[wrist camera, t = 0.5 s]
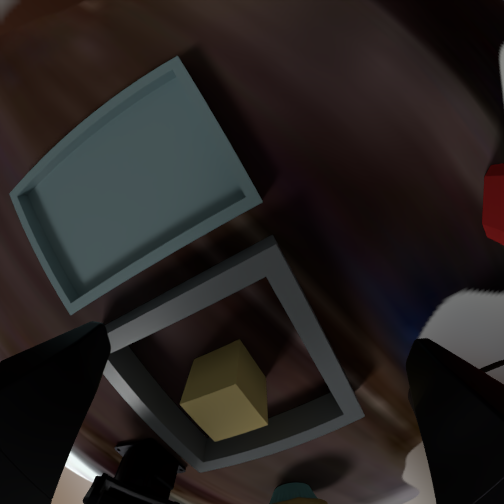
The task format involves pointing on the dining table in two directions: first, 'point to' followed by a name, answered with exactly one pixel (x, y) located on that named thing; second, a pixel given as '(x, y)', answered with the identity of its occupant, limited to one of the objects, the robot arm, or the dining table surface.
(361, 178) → the dining table surface
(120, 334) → the bin
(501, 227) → the french fries
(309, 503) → the cupcake
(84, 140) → the tray
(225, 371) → the block
